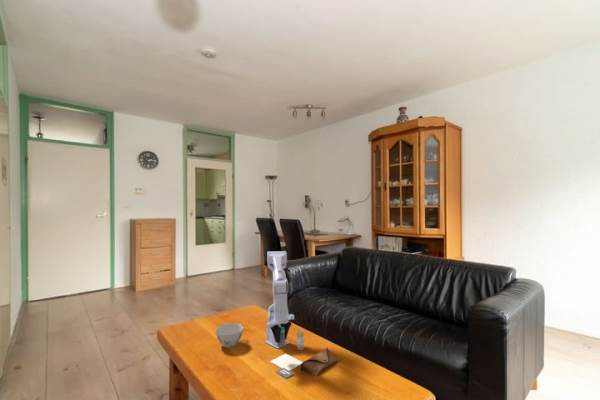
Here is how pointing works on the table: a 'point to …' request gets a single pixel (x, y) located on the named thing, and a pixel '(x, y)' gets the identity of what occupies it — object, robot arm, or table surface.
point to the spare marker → (300, 340)
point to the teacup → (229, 334)
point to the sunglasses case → (319, 363)
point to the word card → (284, 373)
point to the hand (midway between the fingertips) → (280, 340)
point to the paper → (286, 362)
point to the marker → (282, 338)
